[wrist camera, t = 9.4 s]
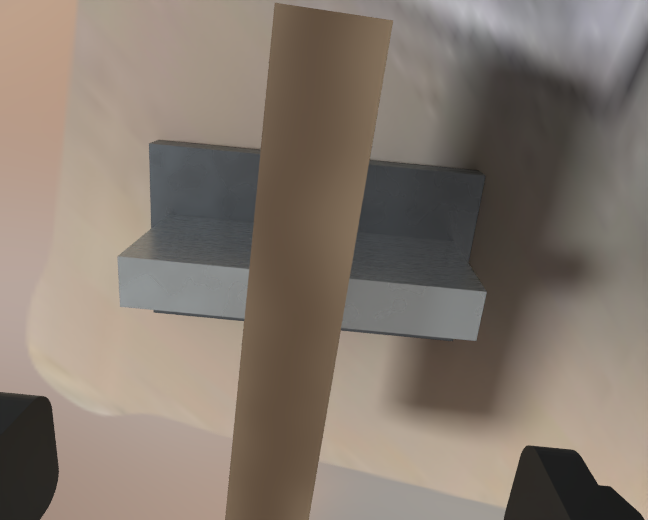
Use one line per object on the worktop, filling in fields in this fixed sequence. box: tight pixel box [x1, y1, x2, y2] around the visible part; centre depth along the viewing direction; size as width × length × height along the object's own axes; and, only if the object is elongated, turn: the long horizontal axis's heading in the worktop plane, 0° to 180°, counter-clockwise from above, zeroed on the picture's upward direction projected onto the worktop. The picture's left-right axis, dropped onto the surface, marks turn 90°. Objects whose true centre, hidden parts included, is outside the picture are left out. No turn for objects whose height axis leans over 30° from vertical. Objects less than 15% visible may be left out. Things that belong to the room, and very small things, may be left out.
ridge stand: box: [118, 140, 487, 341], centre depth 27 cm, size 18×10×8 cm, turn 85°
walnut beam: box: [225, 3, 393, 520], centre depth 21 cm, size 4×22×4 cm, turn 172°
